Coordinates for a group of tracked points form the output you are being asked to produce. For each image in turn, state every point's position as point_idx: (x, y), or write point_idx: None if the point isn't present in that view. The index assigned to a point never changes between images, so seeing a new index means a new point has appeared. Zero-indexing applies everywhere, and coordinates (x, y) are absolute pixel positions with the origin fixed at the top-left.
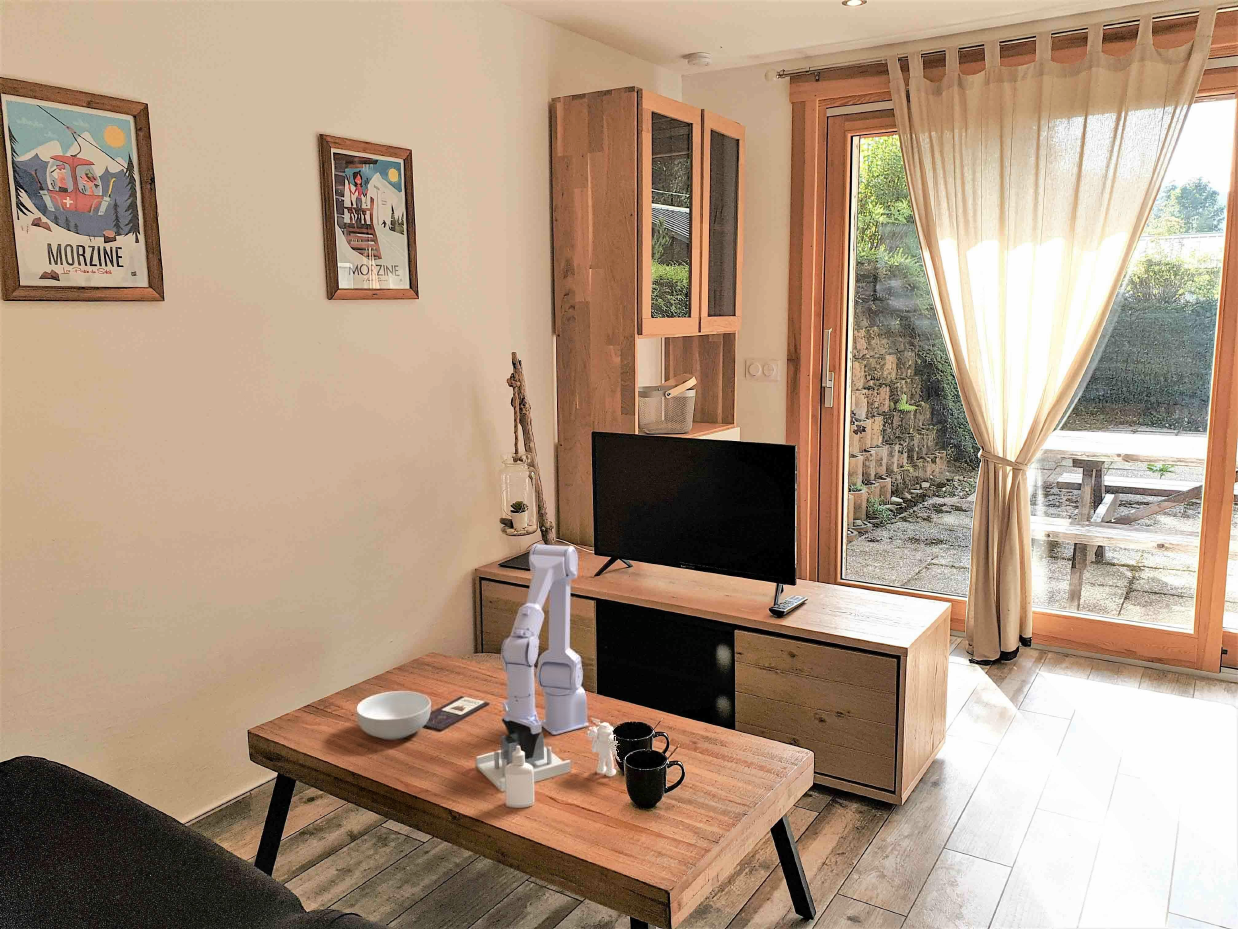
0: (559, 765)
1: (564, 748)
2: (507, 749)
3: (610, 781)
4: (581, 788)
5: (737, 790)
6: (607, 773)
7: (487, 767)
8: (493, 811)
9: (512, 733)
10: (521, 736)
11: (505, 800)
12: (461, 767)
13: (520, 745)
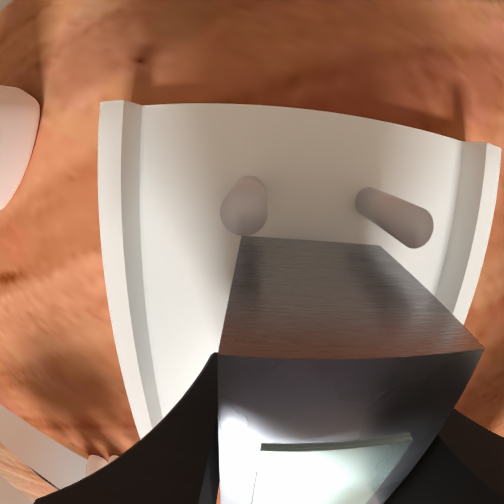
0: (138, 427)
1: None
2: (277, 301)
3: (65, 441)
4: (42, 381)
5: (16, 480)
6: (91, 460)
7: (410, 163)
8: (25, 35)
9: (423, 453)
10: (42, 500)
11: (7, 86)
12: (492, 94)
13: (211, 422)
